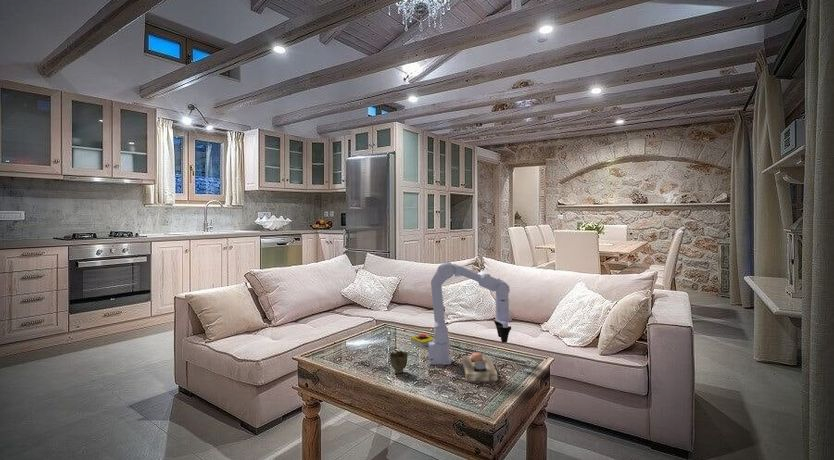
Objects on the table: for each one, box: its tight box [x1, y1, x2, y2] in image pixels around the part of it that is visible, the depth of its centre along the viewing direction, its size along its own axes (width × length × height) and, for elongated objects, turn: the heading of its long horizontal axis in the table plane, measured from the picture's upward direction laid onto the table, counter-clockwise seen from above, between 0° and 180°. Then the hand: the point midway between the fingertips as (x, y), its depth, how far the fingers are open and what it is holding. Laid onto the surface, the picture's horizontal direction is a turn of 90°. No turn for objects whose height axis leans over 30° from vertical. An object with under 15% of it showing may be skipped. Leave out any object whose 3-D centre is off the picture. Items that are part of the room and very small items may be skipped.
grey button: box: [475, 361, 486, 372], centre depth 159 cm, size 4×4×3 cm
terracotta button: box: [471, 352, 483, 362], centre depth 169 cm, size 4×4×3 cm
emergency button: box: [408, 333, 434, 349], centre depth 203 cm, size 9×4×15 cm
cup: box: [389, 350, 408, 374], centre depth 165 cm, size 8×7×8 cm
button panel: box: [461, 355, 499, 383], centre depth 164 cm, size 12×20×3 cm, turn 178°
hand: (502, 339), depth 175 cm, fingers open, 7 cm apart
